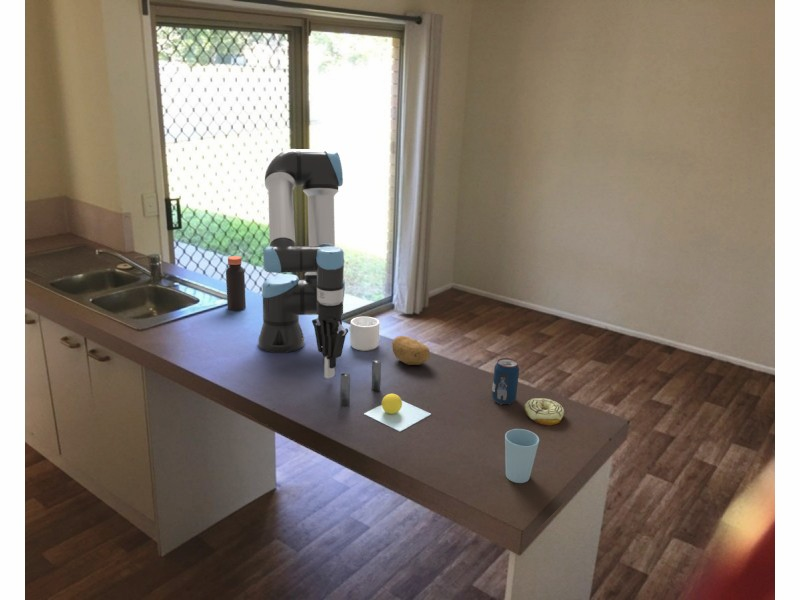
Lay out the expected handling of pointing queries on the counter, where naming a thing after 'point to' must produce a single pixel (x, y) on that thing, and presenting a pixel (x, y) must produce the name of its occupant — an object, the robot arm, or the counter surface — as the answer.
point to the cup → (520, 454)
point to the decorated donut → (544, 411)
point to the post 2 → (376, 375)
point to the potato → (410, 350)
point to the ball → (391, 403)
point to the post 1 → (345, 390)
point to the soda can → (505, 381)
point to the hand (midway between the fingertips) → (329, 376)
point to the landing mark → (398, 416)
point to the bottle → (235, 284)
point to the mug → (364, 333)
